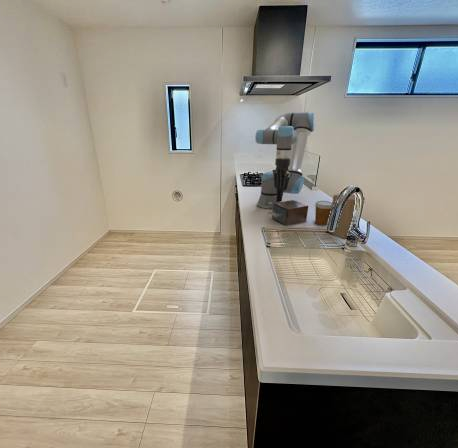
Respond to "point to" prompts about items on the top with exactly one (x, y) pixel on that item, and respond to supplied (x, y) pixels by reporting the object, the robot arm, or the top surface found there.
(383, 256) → the top surface
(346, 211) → the wooden block
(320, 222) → the amber jar
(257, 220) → the top surface
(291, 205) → the cabinet
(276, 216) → the drawer
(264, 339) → the top surface
